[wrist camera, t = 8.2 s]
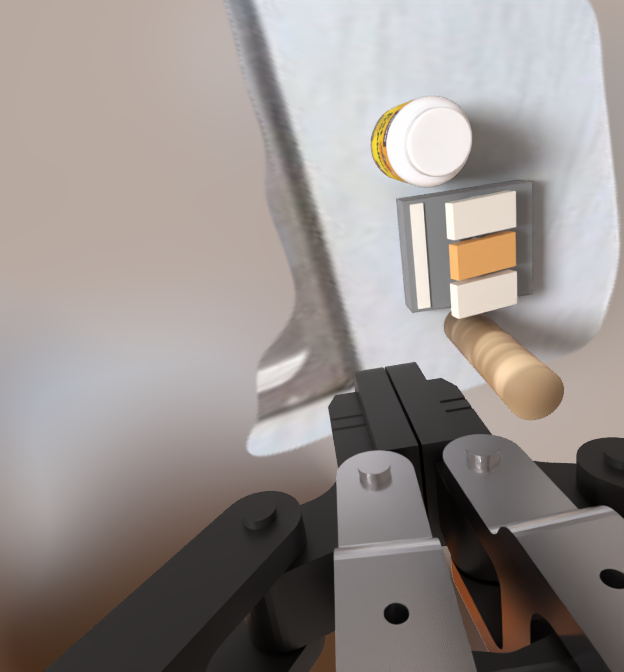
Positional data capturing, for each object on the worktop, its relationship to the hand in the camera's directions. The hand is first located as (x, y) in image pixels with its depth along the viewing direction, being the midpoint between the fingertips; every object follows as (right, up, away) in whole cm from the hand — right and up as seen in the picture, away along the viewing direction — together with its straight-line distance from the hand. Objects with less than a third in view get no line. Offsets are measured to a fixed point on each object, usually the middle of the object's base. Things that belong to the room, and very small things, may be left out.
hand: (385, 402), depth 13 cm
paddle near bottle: (+10, +11, +26) cm, 30 cm away
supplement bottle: (+5, +17, +28) cm, 34 cm away
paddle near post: (+11, +5, +28) cm, 31 cm away
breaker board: (+11, +9, +31) cm, 34 cm away
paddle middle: (+11, +8, +27) cm, 30 cm away
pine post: (+12, +3, +34) cm, 36 cm away
